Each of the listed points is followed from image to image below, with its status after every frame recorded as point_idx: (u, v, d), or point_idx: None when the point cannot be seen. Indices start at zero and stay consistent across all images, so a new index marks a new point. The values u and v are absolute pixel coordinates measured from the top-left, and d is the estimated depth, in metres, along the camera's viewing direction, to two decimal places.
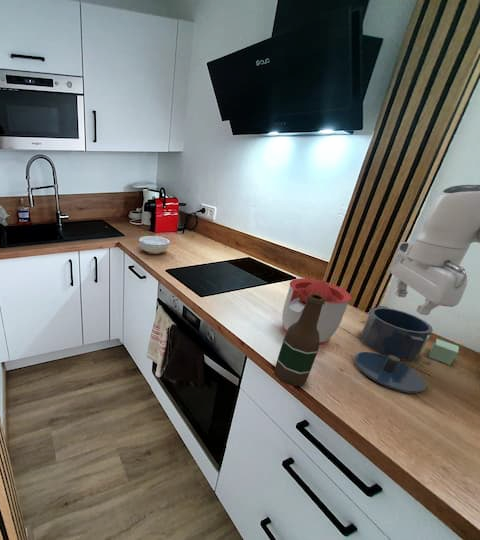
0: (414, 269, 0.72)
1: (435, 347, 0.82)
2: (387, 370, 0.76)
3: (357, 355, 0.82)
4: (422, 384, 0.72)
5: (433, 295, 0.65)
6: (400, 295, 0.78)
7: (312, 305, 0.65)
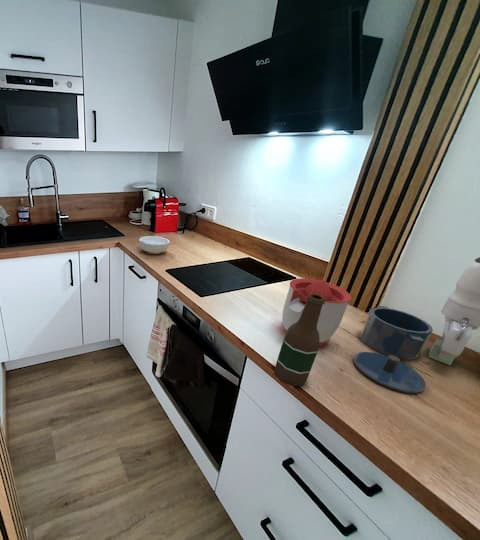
0: (450, 323, 0.82)
1: (435, 347, 0.82)
2: (387, 370, 0.76)
3: (357, 355, 0.82)
4: (422, 384, 0.72)
5: (442, 343, 0.77)
6: None
7: (312, 305, 0.65)
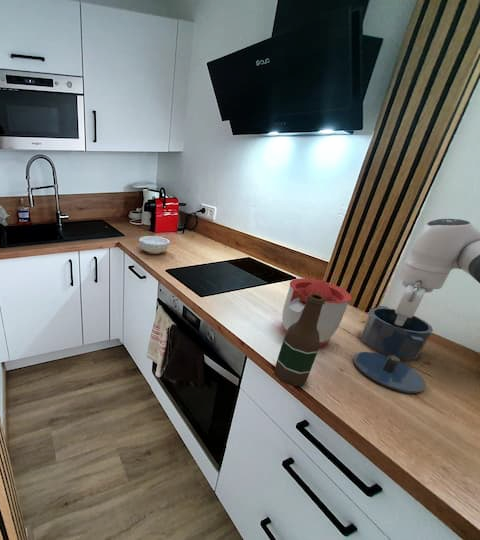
0: None
1: None
2: (387, 370, 0.76)
3: (357, 355, 0.82)
4: (422, 384, 0.72)
5: None
6: None
7: (312, 305, 0.65)
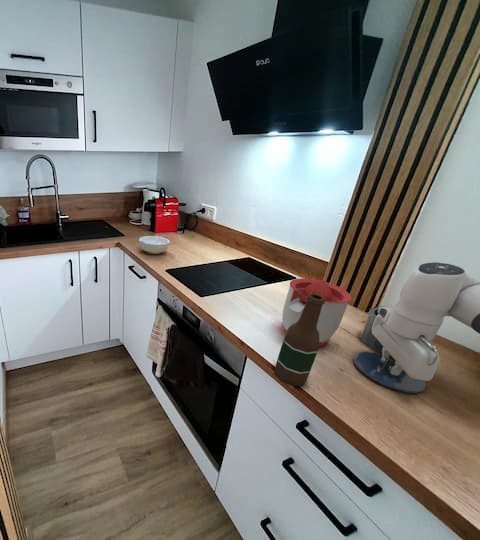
0: (392, 336, 0.75)
1: None
2: (387, 370, 0.76)
3: (357, 355, 0.82)
4: (422, 384, 0.72)
5: (408, 368, 0.68)
6: None
7: (312, 305, 0.65)
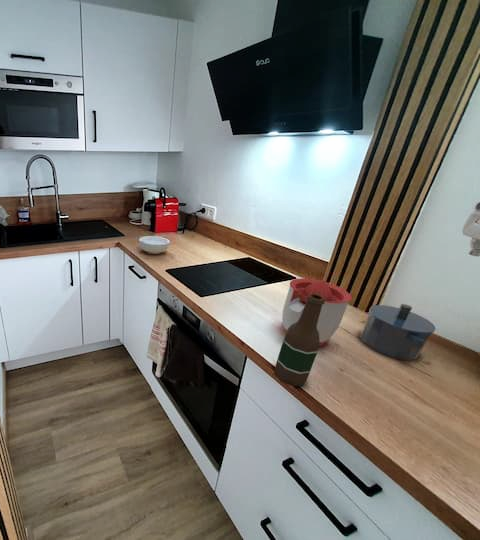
0: None
1: None
2: (400, 317, 0.84)
3: (372, 307, 0.90)
4: (432, 327, 0.80)
5: None
6: (475, 254, 0.80)
7: (312, 305, 0.65)
